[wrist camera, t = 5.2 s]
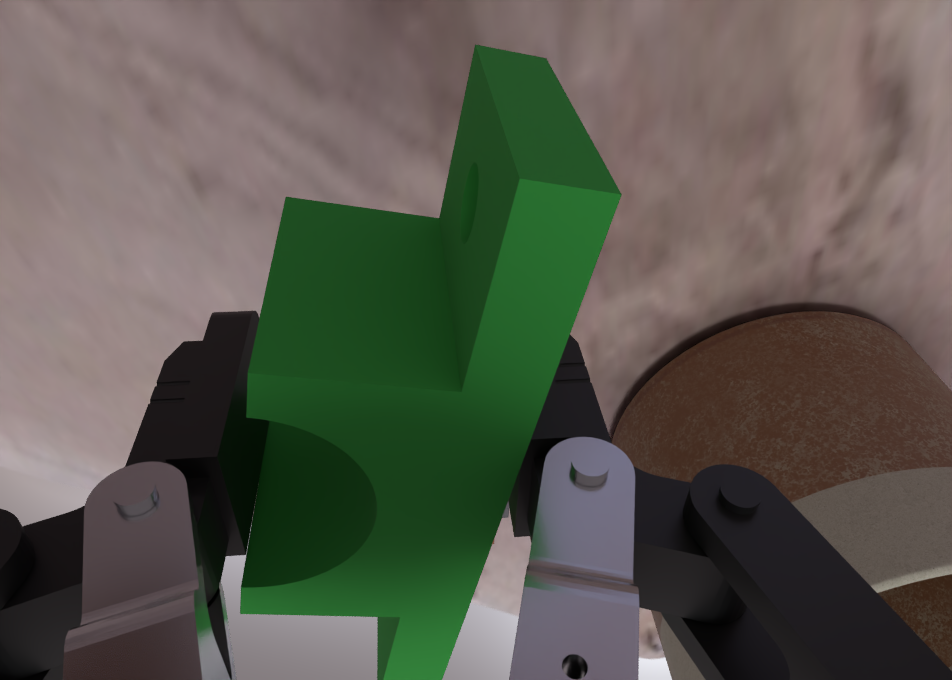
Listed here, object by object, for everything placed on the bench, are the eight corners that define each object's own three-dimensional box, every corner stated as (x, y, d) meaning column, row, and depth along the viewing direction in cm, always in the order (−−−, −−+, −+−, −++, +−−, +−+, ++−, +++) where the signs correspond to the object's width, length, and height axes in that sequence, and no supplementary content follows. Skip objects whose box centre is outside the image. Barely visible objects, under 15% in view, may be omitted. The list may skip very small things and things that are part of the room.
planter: (766, 243, 30) (971, 500, 19) (979, 382, 36) (1224, 636, 26) (543, 471, 38) (602, 748, 27) (751, 554, 44) (866, 807, 33)
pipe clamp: (296, 7, 10) (253, 132, 7) (545, 55, 11) (625, 189, 8) (266, 510, 17) (235, 710, 13) (423, 518, 18) (435, 708, 14)
